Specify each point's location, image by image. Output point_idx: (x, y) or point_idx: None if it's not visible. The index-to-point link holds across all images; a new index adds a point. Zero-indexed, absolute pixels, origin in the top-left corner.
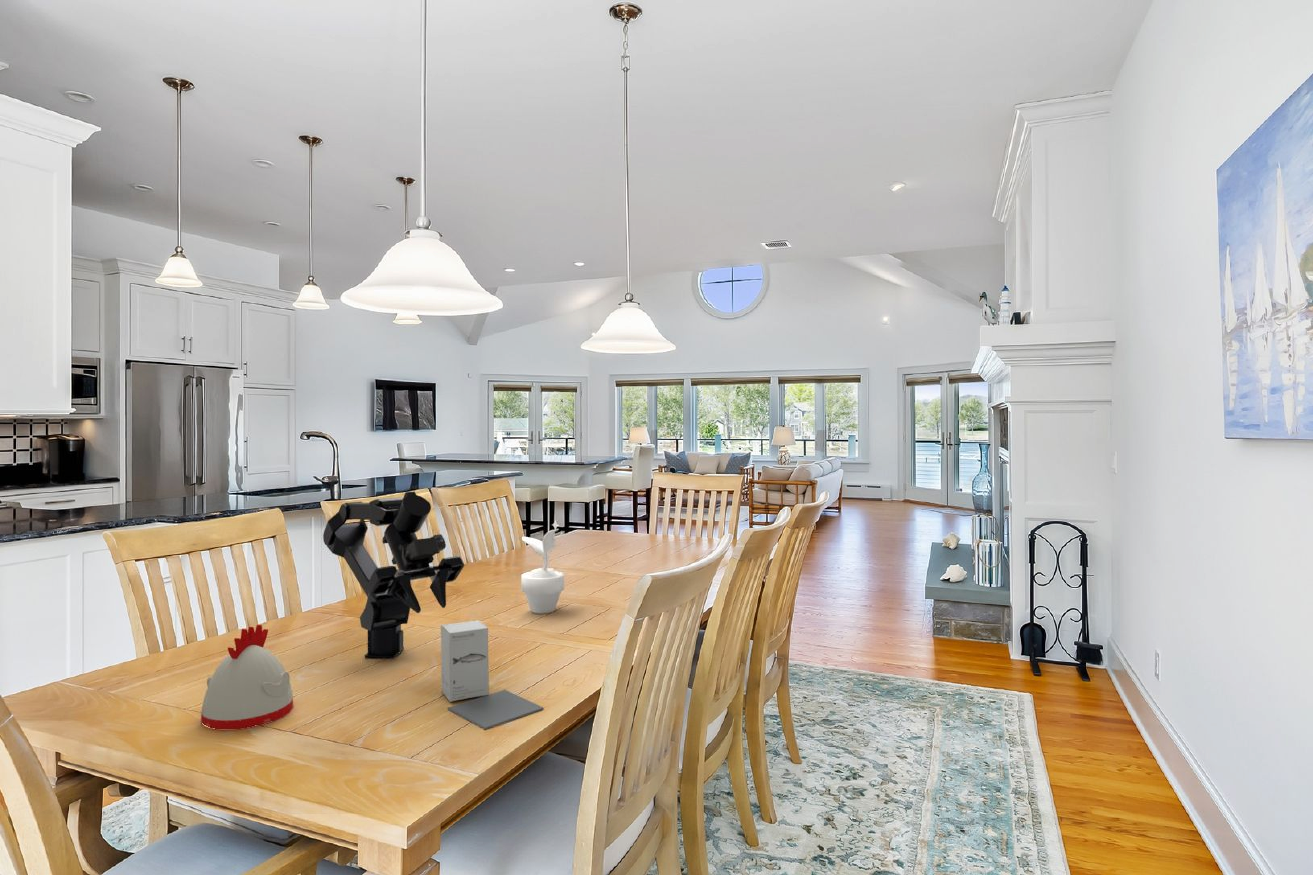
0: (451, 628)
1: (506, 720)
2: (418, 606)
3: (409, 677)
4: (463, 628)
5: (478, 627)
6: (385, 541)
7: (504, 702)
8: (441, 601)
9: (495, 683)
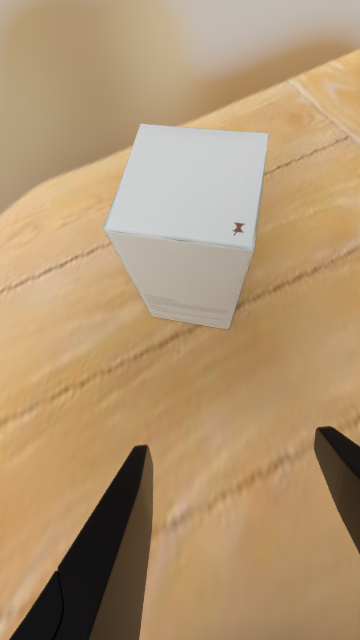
0: (243, 171)
1: None
2: (342, 442)
3: (263, 473)
4: (210, 147)
5: (163, 137)
6: None
7: None
8: (146, 490)
9: (122, 304)
